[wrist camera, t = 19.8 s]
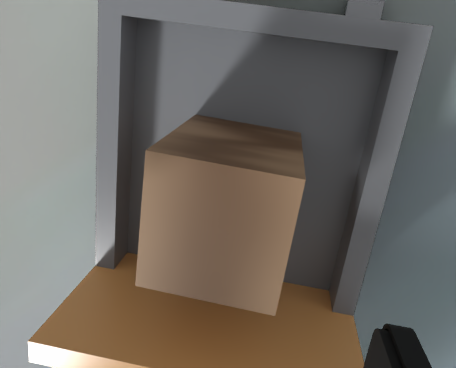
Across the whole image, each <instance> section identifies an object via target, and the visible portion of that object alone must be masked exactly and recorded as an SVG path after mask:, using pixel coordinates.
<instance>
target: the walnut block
mask: <svg viewBox="0 0 456 368" xmlns="http://www.w3.org/2000/svg"><path fill="white" fill-rule="evenodd" d="M305 181H306V177H305V168H304V158H303V149H302V139H301V133H300V132H294V131H288V130H282V129H277V128H271V127H265V126H259V125H254V124H248V123H242V122H236V121H231V120H225V119H219V118H213V117H207V116H202V115H194V116H193V117H191V118H190V119H189V120H187V121H186V122H184V123H183V124H182V125H180V126H179V127H177V128H176V129H175V130H173V131H172V132H170V133H169V134H168V135H166V136H165V137H163V138H162V139H161V140H159V141H158V142H157V143H155V144H154V145H152V146H151V147H150V148H148V149H147V150H146V151H145V164H144V177H143V190H142V203H141V217H140V230H139V243H138V256H137V269H136V282H135V286H138V287H143V288H147V289H152V290H156V291H161V292H166V293H170V294H175V295H180V296H184V297H189V298H193V299H198V300H203V301H207V302H212V303H217V304H221V305H226V306H230V307H235V308H240V309H244V310H249V311H254V312H258V313H263V314H267V315H272V316H275V315H276V311H277V306H278V302H279V297H280V293H281V288H282V284H283V279H284V275H285V270H286V266H287V262H288V257H289V253H290V248H291V244H292V239H293V235H294V230H295V226H296V221H297V217H298V212H299V208H300V204H301V199H302V195H303V190H304V186H305Z"/></svg>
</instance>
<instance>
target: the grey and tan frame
mask: <svg viewBox="0 0 456 368" xmlns="http://www.w3.org/2000/svg"><path fill="white" fill-rule="evenodd" d="M432 30H433V26H429V25H421V24H413V23H405V22H396V21H388V20H380V19H372V18H363V17H355V16H347V15H339V14H330V13H322V12H314V11H306V10H298V9H289V8H281V7H273V6H265V5H256V4H248V3H240V2H232V1H223V0H98V67H97V153H96V240H95V267H94V268H93V269H92V270H91V271H90V272H89V273H88V275H87V276H86V277H85V278H84V279H83V280H82V281H81V282H80V283H79V285H78V286H77V287H76V288H75V289H74V290H73V291H72V292H71V294H70V295H69V296H68V297H67V298H66V299H65V300H64V301H63V303H62V304H61V305H60V306H59V307H58V308H57V309H56V310H55V312H54V313H53V314H52V315H51V316H50V317H49V318H48V319H47V320H46V322H45V323H44V324H43V325H42V326H41V327H40V328H39V329H38V331H37V332H36V333H35V334H34V335H33V336H32V337H31V338H30V340H29V341H28V351H29V362H32V363H36V364H41V365H45V366H50V367H54V368H363V367H364V360H363V356H362V352H361V347H360V343H359V338H358V334H357V330H356V325H355V321H354V317H353V315H354V312H355V308H356V305H357V301H358V297H359V294H360V290H361V286H362V283H363V279H364V276H365V272H366V268H367V265H368V261H369V258H370V254H371V250H372V247H373V243H374V239H375V236H376V232H377V229H378V225H379V221H380V218H381V214H382V211H383V207H384V203H385V200H386V196H387V192H388V189H389V185H390V182H391V178H392V174H393V171H394V167H395V164H396V160H397V156H398V153H399V149H400V145H401V142H402V138H403V135H404V131H405V127H406V124H407V120H408V117H409V113H410V109H411V106H412V102H413V98H414V95H415V91H416V88H417V84H418V80H419V77H420V73H421V70H422V66H423V62H424V59H425V55H426V51H427V48H428V44H429V41H430V37H431V33H432ZM194 115H202V116H207V117H213V118H219V119H225V120H231V121H236V122H242V123H248V124H254V125H259V126H265V127H271V128H277V129H282V130H288V131H294V132H300V133H301V139H302V149H303V158H304V168H305V177H306V181H305V186H304V190H303V195H302V199H301V204H300V208H299V212H298V217H297V221H296V226H295V230H294V235H293V239H292V244H291V248H290V253H289V257H288V262H287V266H286V270H285V275H284V279H283V284H282V288H281V293H280V297H279V302H278V306H277V311H276V315H275V316H272V315H267V314H263V313H258V312H254V311H249V310H244V309H240V308H235V307H230V306H226V305H221V304H217V303H212V302H207V301H203V300H198V299H193V298H189V297H184V296H180V295H175V294H170V293H166V292H161V291H156V290H152V289H147V288H143V287H138V286H135V282H136V269H137V256H138V243H139V230H140V217H141V203H142V190H143V177H144V164H145V151H146V150H147V149H148V148H150V147H151V146H152V145H154V144H155V143H157V142H158V141H159V140H161V139H162V138H163V137H165V136H166V135H168V134H169V133H170V132H172V131H173V130H175V129H176V128H177V127H179V126H180V125H182V124H183V123H184V122H186V121H187V120H189V119H190V118H191V117H193V116H194Z"/></svg>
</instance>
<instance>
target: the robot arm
mask: <svg viewBox="0 0 456 368" xmlns="http://www.w3.org/2000/svg"><path fill="white" fill-rule="evenodd" d="M363 368H432V367H431V365H430V363H429V361H428V359H427V356H426V354H425V352H424V350H423V348H422V346H421V344H420V342H419V340H418V338H417V335H416V333H415V332H414V330H413V329H411V328H407V327H402V326H396V325H391V324H385V325H384V326H383V328H382V329H375V330H374V332H373V335H372V339H371V342H370V346H369V349H368V353H367V356H366V360H365V363H364V367H363Z"/></svg>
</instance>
